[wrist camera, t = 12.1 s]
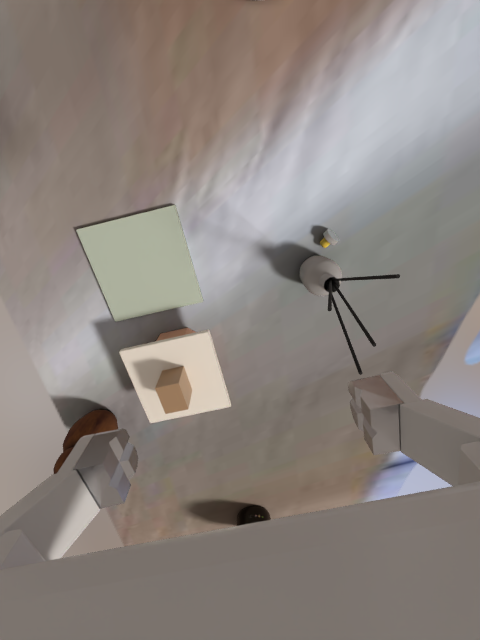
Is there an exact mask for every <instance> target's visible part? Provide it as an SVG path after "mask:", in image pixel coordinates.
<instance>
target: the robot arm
mask: <svg viewBox="0 0 480 640" xmlns="http://www.w3.org/2000/svg"><path fill="white" fill-rule="evenodd" d="M348 390H349V393H350V394H351V396H352V399H351V401H350V407H351V412H352V415H353V418H354V421H355V423H356V425H357V427H358V429H360V430H361V431H363V432H364V439H365V441H366V443H367V444H368V446H369V448H370V450H371V451H372V453H373V455H377V454H384V453H390V452H396V451H401V452H402V453H403V454H405V455H406V456H408V457H410V458H411V459H413V460H414V461H416V462H417V463H419V464H420V465H422V466H423V467H425V468H426V469H428V470H429V471H431V472H432V473H434V474H435V475H437V476H438V477H440V478H441V479H443V480H445V481H446V482H448V483H449V484H451V485H452V487H447V488H442V489H436V490H430V491H425V492H419V493H414V494H409V495H403V496H398V497H392V498H387V499H381V500H376V501H371V502H365V503H360V504H354V505H349V506H343V507H338V508H332V509H327V510H321V511H316V512H310V513H305V514H299V515H294V516H288V517H283V518H278V519H272V520H267V521H261V522H256V523H250V524H245V525H239V526H234V527H228V528H223V529H218V530H212V531H207V532H201V533H196V534H190V535H185V536H179V537H174V538H169V539H163V540H158V541H152V542H147V543H141V544H136V545H130V546H125V547H120V548H114V549H109V550H103V551H98V552H92V553H87V554H81V555H76V556H71V557H66V558H61V557H62V556H63V554H64V553H65V552H66V551H67V550H68V548H69V547H70V546H71V545H72V543H73V542H74V541H75V540H76V539H77V538H78V536H79V535H80V534H81V533H82V532H83V530H84V529H85V528H86V527H87V525H88V524H89V523H90V522H91V521H92V519H93V518H94V517H95V515H96V514H97V513H98V512H99V511H100V508H105V507H109V506H114V505H118V504H123V503H124V502H125V500H126V497H127V494H128V491H129V489H130V486H131V484H130V482H129V479H130V478H131V477H132V476H133V475H134V474H135V472H136V469H137V464H138V456H137V451H136V449H135V447H134V446H133V445H132V444H130V443H128V440H129V435H128V433H127V431H126V430H125V429H117V430H112V431H106V432H101V433H97V434H91V435H86V436H83V437H81V438H80V439H79V441H78V442H77V444H76V445H75V447H74V448H73V450H72V451H71V453H70V454H69V456H68V457H67V459H66V460H65V462H64V463H63V465H62V466H61V468H60V469H59V471H58V472H57V474H53V475H51V476H50V477H49V478H48V479H46V480H45V481H44V482H42V483H41V484H40V485H39V486H38V487H36V488H35V489H34V490H32V491H31V492H30V493H29V494H27V495H26V496H25V497H24V498H22V499H21V500H20V501H19V502H17V503H16V504H15V505H14V506H12V507H11V508H10V509H8V510H7V511H6V512H5V513H3V514H2V515H1V516H0V640H480V418H478V417H475V416H473V415H470V414H467V413H464V412H461V411H458V410H456V409H453V408H450V407H447V406H445V405H442V404H439V403H436V402H434V401H431V400H428V399H425V400H422V399H421V398H420V397H419V396H418V395H417V394H416V393H415V392H414V391H413V390H412V389H411V388H410V387H409V386H408V385H407V384H406V383H405V382H404V381H403V380H402V379H401V378H400V377H399V376H398V375H397V374H396V373H395V372H392V371H391V372H387V373H383V374H379V375H377V376H372V377H367V378H363V379H358V380H353V381H349V382H348Z"/></svg>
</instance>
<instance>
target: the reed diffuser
mask: <svg viewBox="0 0 480 640" xmlns="http://www.w3.org/2000/svg"><path fill="white" fill-rule="evenodd" d="M323 235H324V238H323V239H322V240H321V241H320V244H321V246H322V247H324V248H326V247H327V246H328V245H329V244H332V245H335V244H336V243H337V242H339V238H338V237H337V235H336V234H335V233H334V232H333V231H332V230H330V229H327V230H326V231H325V232H324V233H323ZM399 277H400V275H399V274H397V275H383V276H368V277H353V278H342V272H341V269H340V267H339V266H338V265H337V264H336V263H335V262H334V261H332V260H331V259H328V258H326V257H323V256H312V257H310V258H308V259H307V260H305V261H304V263H303V264H302V266H301V268H300V279H301V281H302V283H303V284H304V286H305V287H306V288H307V290H308V291H309V292H311V293H312V294H314V295H317V296H326V295H329V298H328V311H331V310H332V302H333V305H334V307H335V310H336V313H337V315H338V318H339V321H340V324H341V326H342V329H343V332H344V334H345V337H346V340H347V342H348V345H349V348H350V351H351V353H352V356H353V359H354V361H355V364H356V367H357V369H358V372H359V374H360V375H361V374H362V371H361V368H360V365H359V363H358V360H357V358H356V355H355V352H354V350H353V347H352V344H351V342H350V339H349V337H348V334H347V331H346V329H345V326H344V324H343V321H342V318H341V316H340V313H339V311H338V308H337V305H336V303H335V300H334V298H333V295H332V293H333V292H335V291H337V292H338V293H339V295H340V296H341V298H342V299H343V301H344V302H345V304H346V305H347V307H348V309H349V310H350V312H351V313H352V315H353V316H354V318H355V319H356V321H357V322H358V324H359V325H360V327H361V329H362V330H363V332H364V333H365V335H366V336H367V338H368V339H369V341H370V342H371V344H372V345H373V346H376V343H375V342H374V340H373V339H372V337H371V336H370V335H369V333H368V332H367V330H366V329H365V327H364V326H363V324H362V323H361V321H360V320H359V318H358V317H357V315H356V314H355V312H354V311H353V309H352V308H351V306H350V305H349V303H348V302H347V300H346V299H345V298H344V296H343V295H342V293H341V292H340V290H339V289H338V288H339V286H340V283H341V281H347V280H369V279H391V278H399Z"/></svg>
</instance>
